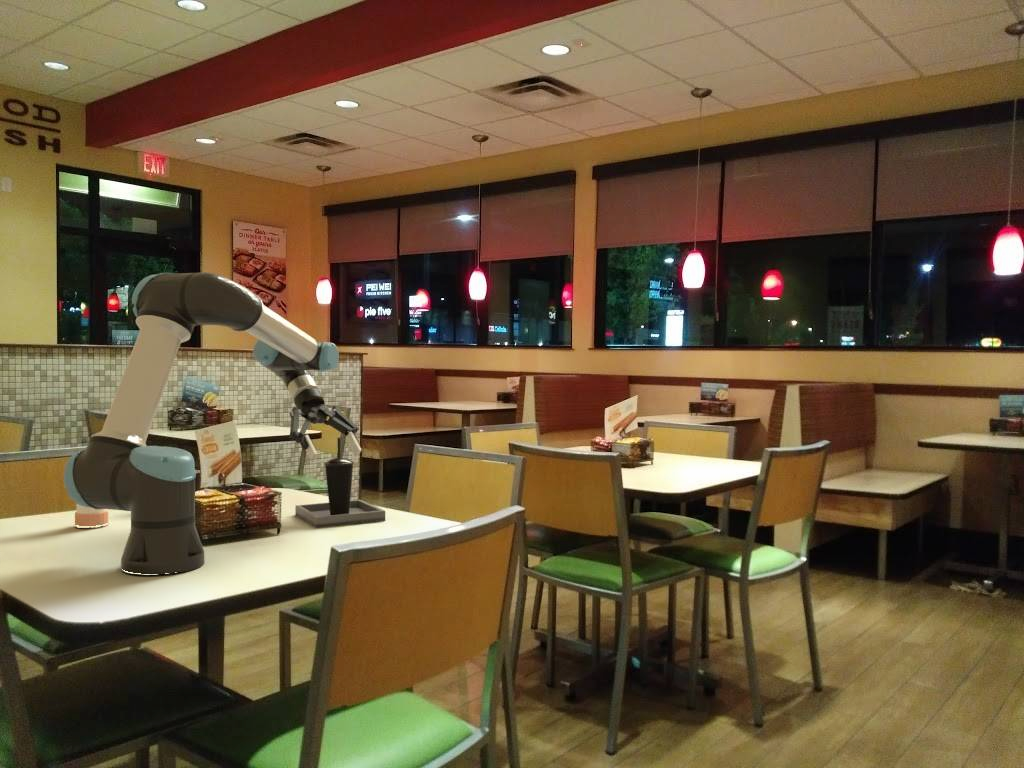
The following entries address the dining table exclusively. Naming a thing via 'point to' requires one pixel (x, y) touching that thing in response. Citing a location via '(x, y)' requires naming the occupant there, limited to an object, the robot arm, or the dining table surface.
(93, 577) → the dining table surface
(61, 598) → the dining table surface
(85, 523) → the pepper shaker
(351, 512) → the serving tray
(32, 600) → the dining table surface
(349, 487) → the drinking cup
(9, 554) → the dining table surface
